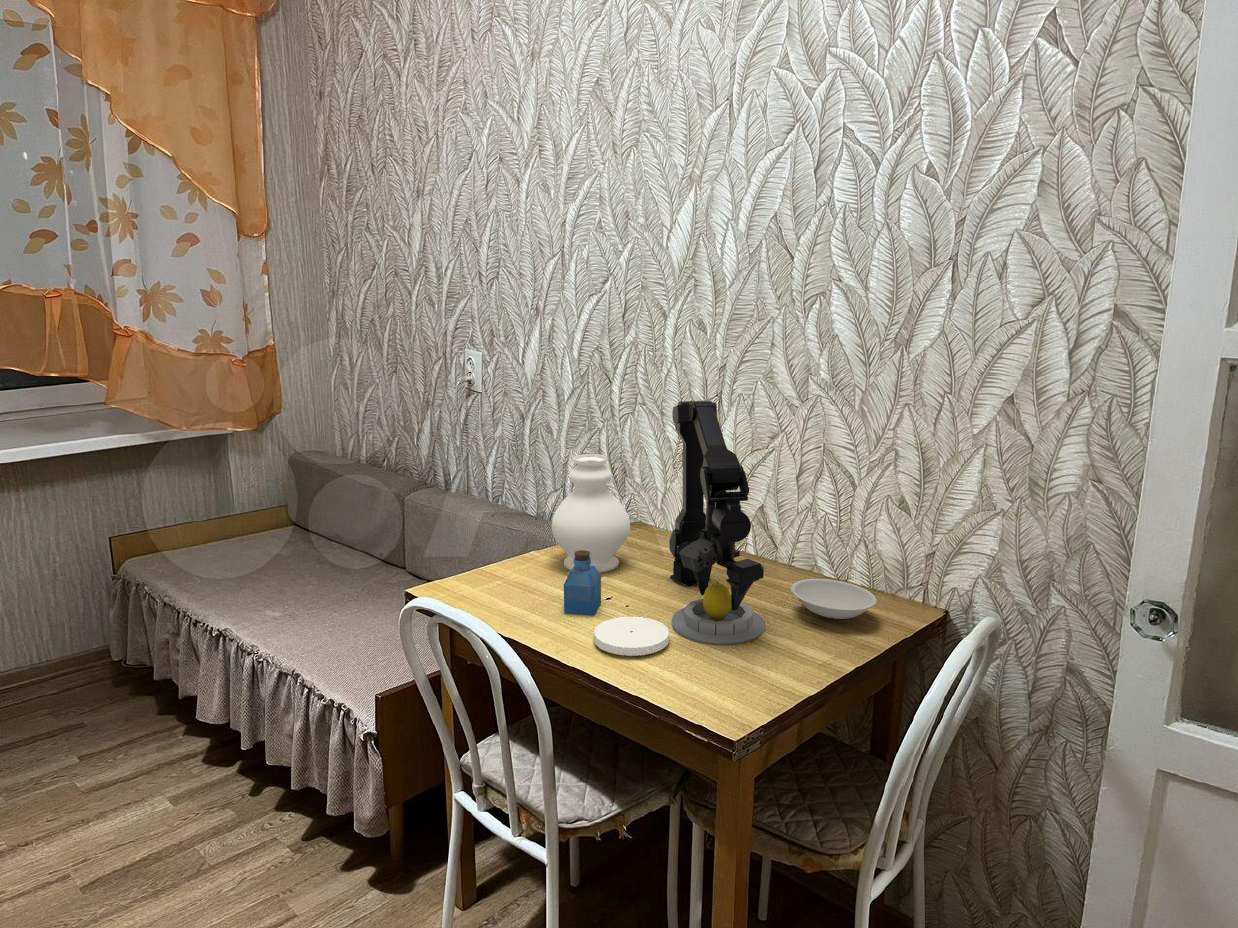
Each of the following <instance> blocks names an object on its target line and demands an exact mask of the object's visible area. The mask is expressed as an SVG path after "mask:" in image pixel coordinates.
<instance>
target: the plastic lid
mask: <svg viewBox="0 0 1238 928" xmlns="http://www.w3.org/2000/svg"><path fill="white" fill-rule="evenodd" d="M593 641H594V644H595V645H596V647H597V648H599V649H600V650H602V651H604V652H607V653H610V654H615V655H619V656H629V657H635V656H637V657H638V656H645V655H649V654H651V655H652V654H654V653H657V652H660V651H662V650H664V649H665V648H666V647H667V646H668V644H669V643H670V630H669V628H668V626H666V624H664V623H662V622H660V621H658V620H655V619H652V618H648V617H647V618H646V617H640V616H622V617H621V616H620V617H616V618H614V617H613V618H610V619H607V620H605V621H603V622H600V623H599V624H597V625H596V626H595V628H594V630H593Z"/></svg>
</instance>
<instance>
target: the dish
mask: <svg viewBox="0 0 1238 928" xmlns="http://www.w3.org/2000/svg"><path fill="white" fill-rule="evenodd" d="M790 591H791V594H792V595H793V596H794V597H796V599H798V601H799V602H800V603H801V604H802V605H803V606H804V607H805V609H806V608H807V609H808V610H809V611H811V612H812V613H814V614H816V615H818V616H820V617H821V616H822V617H824V618H828V619H831V618H834V619H836V620H841V619H842V620H845V619H852V618H855V617H858V616H860V615H862V614H864V613H865V612H866V611H868V610H869V609H872V608H874V607H875V606H876V604H877V601H878V600H877V598H876V596H875V595H874V593H872V592H871V591H869V590H867V589H865V588H863V587H861V586H859V585H856V584H853V583H849V582H846V581H841V580H835V579H828V578H809V579H802V580H799V581H796V582H794V583H792V585H791V586H790Z"/></svg>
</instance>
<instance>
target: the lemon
mask: <svg viewBox="0 0 1238 928" xmlns="http://www.w3.org/2000/svg"><path fill="white" fill-rule="evenodd" d="M702 596H703V597H702V599H703V607H704V610H705V612H706V614H707V615H708V616H709V617H711V618H714V619H715V620H716V621H719V620H720V619H721V618H724V617H726V616H727V615H728V613H729V612H730V610H731V606H732V605H731V590H730V589H729V588H728V587H727V585H725V584H723V583H721V582H719V581H715V582H713V583H711V584H709V585H708V587H707V589H706V590H705V593H704V595H702Z"/></svg>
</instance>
